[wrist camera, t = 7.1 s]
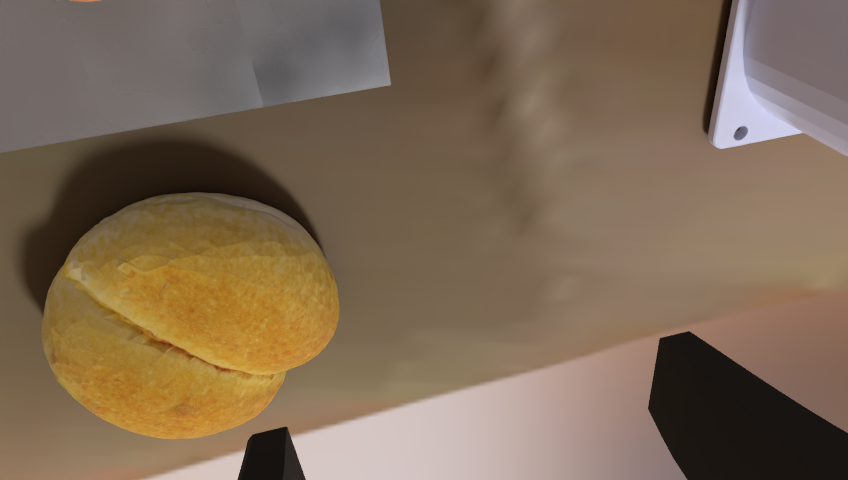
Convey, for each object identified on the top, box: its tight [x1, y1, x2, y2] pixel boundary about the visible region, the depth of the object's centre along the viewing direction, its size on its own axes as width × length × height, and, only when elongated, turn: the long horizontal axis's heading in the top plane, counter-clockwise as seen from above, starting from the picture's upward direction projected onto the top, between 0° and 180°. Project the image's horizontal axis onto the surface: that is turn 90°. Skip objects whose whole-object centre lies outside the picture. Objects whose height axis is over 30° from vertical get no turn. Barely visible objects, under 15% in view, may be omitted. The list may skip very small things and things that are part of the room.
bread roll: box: [42, 192, 339, 439], centre depth 19 cm, size 8×9×4 cm
